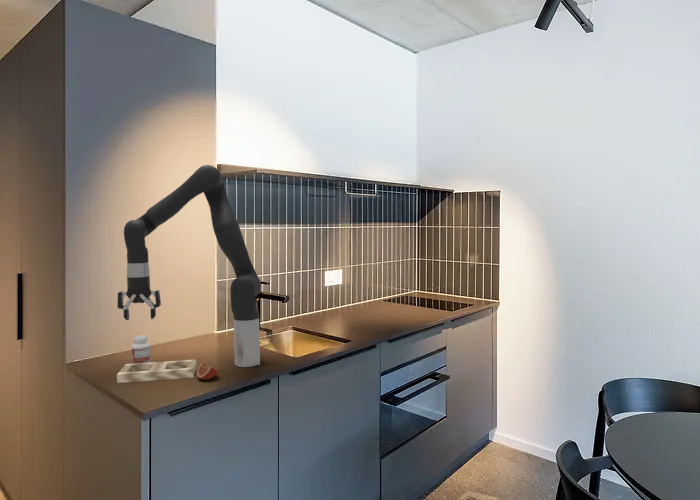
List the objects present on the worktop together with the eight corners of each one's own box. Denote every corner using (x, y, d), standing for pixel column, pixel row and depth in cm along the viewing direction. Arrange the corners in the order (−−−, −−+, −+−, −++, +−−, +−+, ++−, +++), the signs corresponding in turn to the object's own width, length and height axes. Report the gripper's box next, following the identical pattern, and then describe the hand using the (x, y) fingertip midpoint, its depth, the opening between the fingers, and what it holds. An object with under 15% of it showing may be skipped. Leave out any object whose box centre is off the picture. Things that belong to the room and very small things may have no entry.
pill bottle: (136, 364, 174) (134, 335, 173) (153, 363, 175) (152, 334, 174) (130, 369, 168) (128, 339, 167) (147, 369, 169) (146, 339, 168)
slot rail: (196, 367, 170) (196, 359, 170) (193, 377, 159) (192, 369, 159) (126, 372, 165) (125, 364, 165) (117, 383, 155) (116, 374, 154)
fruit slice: (193, 377, 160) (193, 363, 160) (212, 373, 164) (212, 359, 164) (203, 384, 154) (202, 369, 153) (222, 379, 158) (221, 365, 157)
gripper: (161, 273, 174) (162, 316, 175) (120, 274, 171) (121, 317, 172) (157, 275, 167) (158, 320, 168) (114, 277, 164) (115, 322, 165)
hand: (139, 319), depth 170 cm, fingers open, 8 cm apart
